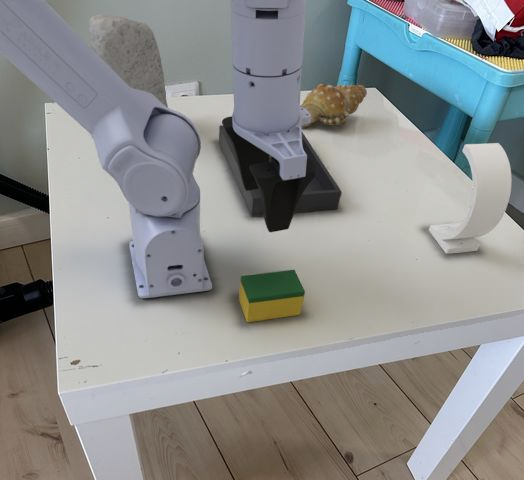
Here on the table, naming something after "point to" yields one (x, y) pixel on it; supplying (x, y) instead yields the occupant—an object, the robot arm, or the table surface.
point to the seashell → (333, 103)
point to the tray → (313, 198)
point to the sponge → (271, 295)
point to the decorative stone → (129, 52)
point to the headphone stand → (479, 199)
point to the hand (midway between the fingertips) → (265, 207)
